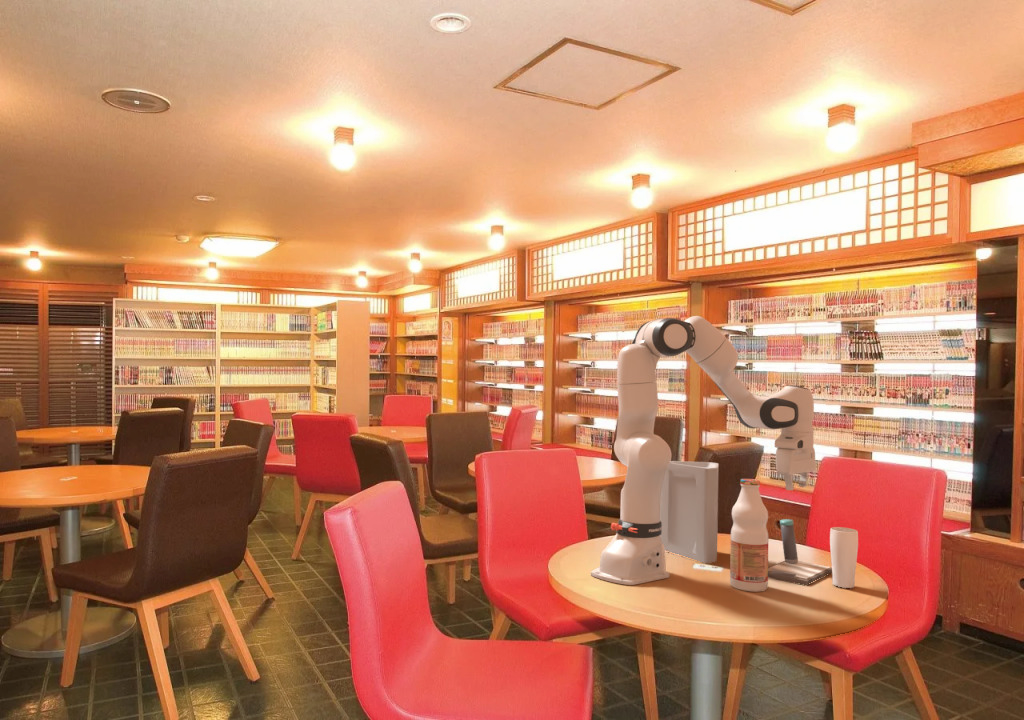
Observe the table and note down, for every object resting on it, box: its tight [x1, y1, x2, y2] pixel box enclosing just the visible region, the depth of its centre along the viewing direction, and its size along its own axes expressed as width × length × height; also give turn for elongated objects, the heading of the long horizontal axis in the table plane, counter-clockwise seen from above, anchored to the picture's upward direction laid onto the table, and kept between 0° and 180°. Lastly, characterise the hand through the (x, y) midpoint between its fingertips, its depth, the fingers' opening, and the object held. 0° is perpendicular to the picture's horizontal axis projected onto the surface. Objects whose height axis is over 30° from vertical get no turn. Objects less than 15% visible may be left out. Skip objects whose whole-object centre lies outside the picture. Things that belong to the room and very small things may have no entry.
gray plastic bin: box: [660, 460, 719, 564], centre depth 218 cm, size 19×15×28 cm
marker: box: [779, 518, 799, 563], centre depth 204 cm, size 4×4×12 cm
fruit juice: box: [729, 478, 769, 593], centre depth 183 cm, size 9×9×28 cm
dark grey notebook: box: [768, 560, 832, 586], centre depth 197 cm, size 20×13×2 cm, turn 136°
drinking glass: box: [829, 526, 859, 589], centre depth 185 cm, size 7×7×15 cm
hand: (796, 488), depth 204 cm, fingers open, 8 cm apart
